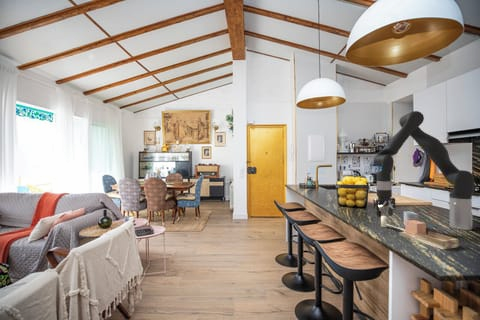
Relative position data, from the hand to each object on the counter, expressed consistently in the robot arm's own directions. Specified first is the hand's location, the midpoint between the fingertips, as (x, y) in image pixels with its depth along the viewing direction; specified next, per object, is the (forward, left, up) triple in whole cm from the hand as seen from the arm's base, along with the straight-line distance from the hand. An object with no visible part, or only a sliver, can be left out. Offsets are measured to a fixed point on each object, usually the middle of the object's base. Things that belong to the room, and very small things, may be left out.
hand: (384, 216), depth 133 cm
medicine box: (-14, +5, -7) cm, 16 cm away
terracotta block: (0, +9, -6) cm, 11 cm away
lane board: (0, +23, -6) cm, 24 cm away
